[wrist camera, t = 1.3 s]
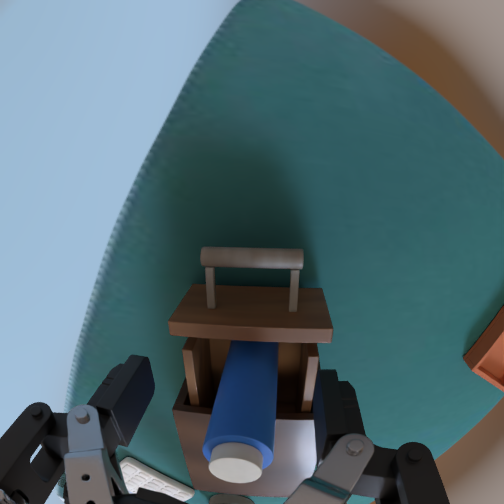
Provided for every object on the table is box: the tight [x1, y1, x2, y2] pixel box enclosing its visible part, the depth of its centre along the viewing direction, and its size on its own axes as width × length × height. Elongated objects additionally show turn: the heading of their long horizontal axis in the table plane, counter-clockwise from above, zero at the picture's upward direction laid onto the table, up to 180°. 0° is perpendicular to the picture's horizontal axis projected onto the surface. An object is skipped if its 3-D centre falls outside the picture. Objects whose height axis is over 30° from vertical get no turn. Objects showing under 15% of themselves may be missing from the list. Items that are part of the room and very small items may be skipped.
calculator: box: [120, 457, 195, 501], centre depth 42 cm, size 13×20×2 cm, turn 143°
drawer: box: [168, 247, 333, 413], centre depth 25 cm, size 18×11×7 cm, turn 0°
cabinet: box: [172, 361, 321, 497], centre depth 28 cm, size 15×13×9 cm
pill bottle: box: [202, 340, 279, 483], centre depth 21 cm, size 4×4×14 cm
